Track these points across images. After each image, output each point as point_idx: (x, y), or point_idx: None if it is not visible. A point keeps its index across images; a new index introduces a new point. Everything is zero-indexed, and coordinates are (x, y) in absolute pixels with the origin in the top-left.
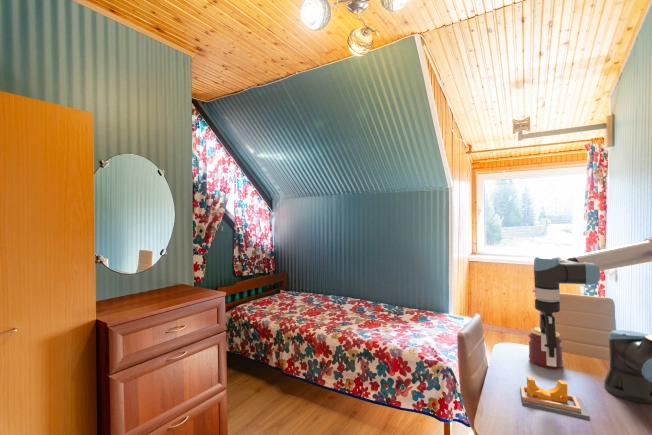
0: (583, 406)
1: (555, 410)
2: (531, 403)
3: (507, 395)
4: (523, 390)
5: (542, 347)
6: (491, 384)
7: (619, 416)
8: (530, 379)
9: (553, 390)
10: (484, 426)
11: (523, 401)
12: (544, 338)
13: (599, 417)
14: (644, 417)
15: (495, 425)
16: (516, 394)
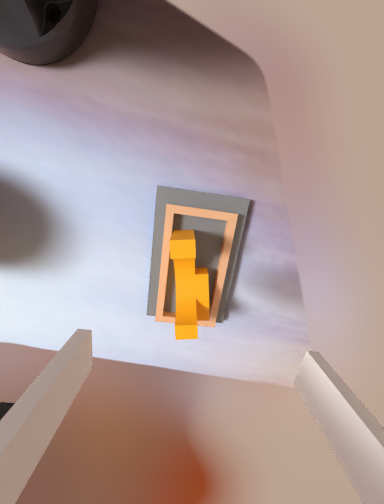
0: (203, 195)
1: (234, 265)
2: (223, 308)
3: None
4: None
5: (79, 385)
6: (148, 360)
7: (212, 110)
8: (195, 334)
9: (184, 264)
10: None
11: (218, 321)
12: (16, 478)
13: (231, 170)
14: (197, 26)
15: None
16: None
